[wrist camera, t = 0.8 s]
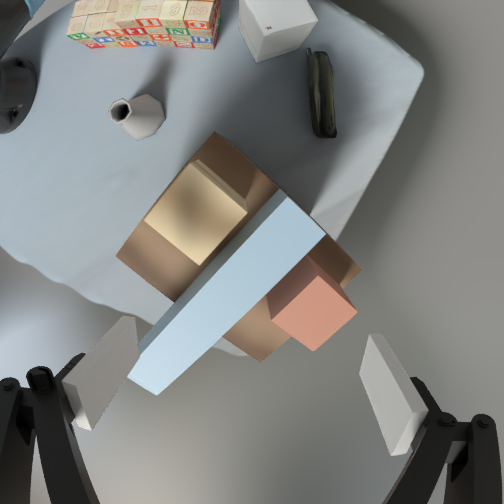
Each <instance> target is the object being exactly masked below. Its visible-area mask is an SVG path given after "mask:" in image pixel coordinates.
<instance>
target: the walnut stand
mask: <svg viewBox="0 0 504 504" xmlns="http://www.w3.org/2000/svg"><path fill="white" fill-rule="evenodd" d="M196 160H200V161H201V162H203V163H204V164H205V165H206V166H207V167H208V168H210V169H211V170H212V171H213V172H214V173H215V174H217V175H218V176H219V177H220V178H221V179H222V180H224V181H225V182H226V183H227V184H228V185H229V186H230V187H232V188H233V189H234V190H235V191H236V192H237V193H239V194H240V195H241V196H242V197H243V198H244V199H245V201H246V207H247V214H246V215H245V216H244V217H243V218H242V219H241V220H240V221H239V223H238V224H237V225H236V226H235V227H234V228H233V229H232V230H231V231H230V232H229V233H228V235H227V236H226V237H225V238H224V239H223V240H222V241H221V242H220V243H219V244H218V246H217V247H216V248H215V249H214V250H213V251H212V252H211V253H210V254H209V256H208V257H207V258H206V259H205V260H204V261H203V262H202V263H201V264H200V266H199V265H198V264H197V263H195V262H194V261H193V260H192V259H190V258H189V257H188V256H187V255H185V254H184V253H183V252H182V251H180V250H179V249H178V248H177V247H176V246H174V245H173V244H172V243H171V242H169V241H168V240H167V239H166V238H164V237H163V236H162V235H161V234H160V233H158V232H157V231H156V230H155V229H154V228H152V227H151V226H150V225H149V224H148V223H146V222H145V221H144V219H145V218H146V217H147V216H148V214H149V213H150V212H151V210H152V209H153V208H154V206H155V205H156V204H157V203H158V201H159V200H160V199H161V198H162V196H163V195H164V194H165V192H166V191H167V190H168V189H169V188H170V186H171V185H172V184H173V183H174V181H175V180H176V179H177V178H178V177H179V175H180V174H181V173H182V172H183V171H184V169H185V168H186V167H187V166H188V165H189V163H191V162H194V161H196ZM279 188H280V187H279V186H278V185H277V184H276V183H275V182H274V181H273V180H272V179H271V178H270V177H268V176H267V175H266V174H265V173H264V172H263V171H262V170H261V169H260V168H258V167H257V166H256V165H255V164H254V163H253V162H252V161H251V160H250V159H248V158H247V157H246V156H245V155H244V154H243V153H242V152H240V151H239V150H238V149H237V148H236V147H235V146H234V145H232V144H231V143H230V142H229V141H228V140H227V139H225V138H224V137H223V136H221V135H219V134H218V133H216V132H214V133H213V134H212V135H211V136H210V137H209V138H208V140H207V141H206V142H205V143H204V144H203V145H202V146H201V147H200V149H199V150H198V151H197V152H196V153H195V154H194V155H193V157H192V158H191V159H190V160H189V161H188V162H187V164H186V165H185V166H184V167H183V168H182V170H181V171H180V172H179V173H178V174H177V176H176V177H175V178H174V179H173V180H172V182H171V183H170V184H169V185H168V187H167V188H166V189H165V190H164V192H163V193H162V194H161V195H160V197H159V198H158V199H157V200H156V202H155V203H154V204H153V206H152V207H151V208H150V210H149V211H148V212H147V213H146V215H145V216H144V217H143V219H142V220H141V221H140V223H139V224H138V225H137V227H136V228H135V230H134V231H133V232H132V234H131V235H130V236H129V238H128V239H127V241H126V242H125V243H124V245H123V246H122V248H121V249H120V250H119V252H118V253H117V255H116V257H117V258H118V259H120V260H121V261H122V262H123V263H124V264H126V265H127V266H128V267H129V268H131V269H132V270H133V271H134V272H136V273H137V274H138V275H139V276H141V277H142V278H143V279H144V280H146V281H147V282H148V283H149V284H151V285H152V286H153V287H155V288H156V289H157V290H159V291H160V292H161V293H162V294H164V295H165V296H166V297H168V298H169V299H170V300H172V301H173V302H174V303H175V302H176V301H177V299H178V298H179V297H180V296H181V295H182V294H183V293H184V292H185V291H186V289H187V288H188V287H189V286H190V285H191V284H192V283H193V282H194V281H195V279H196V278H197V277H198V276H199V275H200V274H201V273H202V272H203V271H204V269H205V268H206V267H207V266H208V265H209V264H210V263H211V262H212V261H213V260H214V258H215V257H216V256H217V255H218V254H219V253H220V252H221V251H222V250H223V249H224V248H225V246H226V245H227V244H228V243H229V242H230V241H231V240H232V239H233V238H234V237H235V236H236V235H237V233H238V232H239V231H240V230H241V229H242V228H243V227H244V226H245V225H246V224H247V223H248V222H249V220H250V219H251V218H252V217H253V216H254V215H255V214H256V213H257V212H258V211H259V210H260V209H261V208H262V207H263V205H264V204H265V203H266V202H267V201H268V200H269V199H270V198H271V197H272V196H273V195H274V194H275V193H276V192H277V191H278V190H279ZM280 189H281V188H280ZM281 190H282V191H283V192H284V193H285V194H286V195H287V196H288V197H289V198H290V199H291V200H292V201H294V200H293V199H292V198H291V197H290V196H289V195H288V194H287V193H286V192H285V191H284V190H283V189H281ZM294 202H295V201H294ZM295 203H296V202H295ZM296 204H297V203H296ZM297 205H298V204H297ZM298 206H299V207H300V208H301V209H302V210H303V211H304V212H305V213H306V214H307V215H308V216H309V217H310V218H311V219H312V220H313V221H314V222H315V223H316V224H317V225H318V226H319V227H320V228H321V229H322V230H323V231H324V232H325V233H326V234H325V235H324V236H323V237H322V239H321V240H320V241H319V242H318V243H317V244H316V245H315V246H314V247H313V248H312V249H311V250H310V251H309V252H308V253H307V255H308V256H309V257H310V258H311V259H312V260H313V261H315V262H316V263H317V264H318V265H319V266H320V267H321V268H322V269H323V270H324V271H325V272H326V273H327V274H329V275H330V276H331V277H332V278H333V279H334V280H335V281H336V282H337V283H338V284H339V285H340V286H341V288H342V289H343V288H344V287H345V286H346V285H347V284H348V283H349V282H350V281H351V280H352V279H353V278H354V277H355V276H356V275H357V274H358V273H359V272H360V271H361V268H360V267H359V266H358V265H357V264H356V263H355V262H354V261H353V260H352V259H351V258H350V256H349V255H348V254H347V253H346V252H345V251H344V250H343V249H342V248H341V247H340V246H339V245H338V244H337V243H336V242H335V241H334V240H333V239H332V238H331V236H330V235H329V234H328V233H327V232H326V231H325V230H324V229H323V228H322V227H321V226H320V225H319V224H318V223H317V222H316V221H315V220H314V219H313V218H312V217H311V216H310V215H309V214H308V213H307V212H306V211H305V210H304V209H303V208H302V207H301V206H300V205H298ZM222 337H223V338H225V339H226V340H228V341H229V342H231V343H232V344H233V345H235V346H236V347H238V348H239V349H241V350H242V351H244V352H245V353H247V354H249V355H250V356H252V357H253V358H255V359H256V360H258V361H259V362H262V361H263V360H264V359H265V358H266V357H268V356H269V355H270V354H271V353H272V352H273V351H275V350H276V349H277V348H278V347H279V346H280V345H282V344H283V343H284V342H285V341H286V340H287V339H288V338H289V337H291V335H290V334H288V333H287V332H286V331H284V330H283V329H282V328H280V327H279V326H278V325H276V324H275V323H274V322H272V321H271V318H270V313H269V308H268V303H267V298H266V295H264V296H263V297H262V298H261V299H260V300H259V301H258V302H257V303H256V304H255V305H254V306H253V307H252V308H251V309H250V310H249V311H248V312H247V313H246V314H245V315H244V316H243V317H242V318H241V319H240V320H239V321H237V322H236V323H235V324H234V325H233V326H232V327H231V328H230V329H229V330H228V331H227V332H226V333H225V334H224V335H223V336H222Z"/></svg>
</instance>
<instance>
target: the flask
mask: <svg viewBox="0 0 504 504" xmlns="http://www.w3.org/2000/svg"><path fill="white" fill-rule="evenodd" d="M108 112H109V116H110V119H111V120H112V121H114V122H115V123H116V124H120V123H122V126H123V129H124V131H125V132H126V133H127V134H129V135H130V136H132V137H133V138H134V139H136V140H137V141H138V140H141V139H144V138H146V137H149V136H152V135H154V134H155V133H156V132H157V130H158V129H159V128H160V126H161V125H162V123H163V122H164V121H165V116H164V112H163V109H162V105H161V102H159V101H158V100H156V99H155V98H153V97H152V96H150V95H149V94H144V95H141V96H139V97H136V98H134V99H131V100H129V101H126V100H125V99H123V98H122V99H120V100H117V101H115V102H113V104H112V105H111V107H110V108H109V110H108Z"/></svg>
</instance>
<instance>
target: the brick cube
mask: <svg viewBox="0 0 504 504" xmlns="http://www.w3.org/2000/svg"><path fill="white" fill-rule="evenodd" d="M266 298H267V303H268V308H269V313H270V318H271V321H272V322H274V323H275V324H276V325H278V326H279V327H280V328H282V329H283V330H284V331H286V332H287V333H288V334H290V335H291V336H293V337H294V338H295V339H297V340H298V341H299V342H301V343H302V344H304V345H305V346H306V347H308V348H310V350H312V351H314V350H316V349H317V348H318V347H319V346H320V345H322V344H323V343H324V342H325V341H326V340H327V339H328V338H329V337H331V336H332V335H333V334H334V333H335V332H336V331H337V330H339V329H340V328H341V327H342V326H343V325H344V324H345V323H346V322H347V321H348V320H350V319H351V318H352V317H353V316H354V315H355V314H356V313H357V312H358V311H357V310H356V308H355V307H354V305H353V304H352V303H351V301H350V300H349V298H348V296H347V295H346V294H345V292H344V291H343V289H342V288H341V286H340V285H339V284H338V283H337V282H336V281H335V280H334V279H333V278H332V277H331V276H330V275H329V274H327V273H326V272H325V271H324V270H323V269H322V268H321V267H320V266H319V265H318V264H317V263H316V262H315V261H313V260H312V259H311V258H310V257H309V256H308V255H307V254H306V255H305V256H304V257H303V258H302V259H301V260H300V261H299V262H298V263H297V264H296V265H295V266H294V267H293V268H292V269H291V270H290V271H289V272H288V273H287V274H286V275H285V276H284V277H283V278H282V279H281V280H280V281H279V282H278V283H277V284H276V285H275V286H274V287H273V288H272V289H271V290H270V291H269V292H268V293H267V294H266Z"/></svg>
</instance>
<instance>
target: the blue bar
mask: <svg viewBox="0 0 504 504" xmlns="http://www.w3.org/2000/svg"><path fill="white" fill-rule="evenodd" d="M325 234H326V233H325V232H324V231H323V230H322V229H321V228H320V227H319V226H318V225H317V224H316V223H315V222H314V221H313V220H312V219H311V218H310V217H309V216H308V215H307V214H306V213H305V212H304V211H303V210H302V209H301V208H300V207H299V206H298V205H297V204H296V203H295V202H294V201H292V200H291V199H290V198H289V197H288V196H287V195H286V194H285V193H284V192H283V191H282V190H281V189H280V188H279V190H278V191H277V192H276V193H275V194H274V195H273V196H272V197H271V198H270V199H269V200H268V201H267V202H266V203H265V204H264V205H263V207H262V208H261V209H260V210H259V211H258V212H257V213H256V214H255V215H254V216H253V217H252V218H251V219H250V220H249V222H248V223H247V224H246V225H245V226H244V227H243V228H242V229H241V230H240V231H239V232H238V233H237V235H236V236H235V237H234V238H233V239H232V240H231V241H230V242H229V243H228V244H227V245H226V246H225V248H224V249H223V250H222V251H221V252H220V253H219V254H218V255H217V256H216V257H215V258H214V260H213V261H212V262H211V263H210V264H209V265H208V266H207V267H206V268H205V269H204V271H203V272H202V273H201V274H200V275H199V276H198V277H197V278H196V279H195V281H194V282H193V283H192V284H191V285H190V286H189V287H188V288H187V289H186V291H185V292H184V293H183V294H182V295H181V296H180V297H179V298H178V299H177V301H176V302H175V303H174V304H173V305H172V306H171V307H170V308H169V310H168V311H167V312H166V313H165V314H164V315H163V316H162V317H161V319H160V320H159V321H158V322H157V323H156V324H155V325H154V327H153V328H152V329H151V330H150V331H149V332H148V333H147V334H146V336H145V337H144V338H143V339H142V340H141V341H140V343H139V344H138V348H139V355H140V358H139V360H138V361H137V363H136V364H135V366H134V367H133V369H132V370H131V372H130V373H129V375H128V376H127V377H128V378H129V379H131V380H133V381H134V382H136V383H137V384H139V385H141V386H142V387H144V388H145V389H147V390H149V391H150V392H152V393H154V394H155V395H158V394H159V393H160V392H161V391H162V390H164V389H165V388H166V387H167V386H168V385H169V384H170V383H171V382H173V381H174V380H175V379H176V378H177V377H178V376H179V375H180V374H181V373H183V372H184V371H185V370H186V369H187V368H188V367H189V366H190V365H191V364H192V363H193V362H195V361H196V360H197V359H198V358H199V357H200V356H201V355H202V354H203V353H204V352H206V351H207V350H208V349H209V348H210V347H211V346H212V345H213V344H214V343H215V342H216V341H217V340H218V339H219V338H221V337H222V336H223V335H224V334H225V333H226V332H227V331H228V330H229V329H230V328H231V327H232V326H233V325H234V324H235V323H236V322H237V321H239V320H240V319H241V318H242V317H243V316H244V315H245V314H246V313H247V312H248V311H249V310H250V309H251V308H252V307H253V306H254V305H255V304H256V303H257V302H258V301H259V300H260V299H261V298H262V297H263V296H264V295H266V294H267V293H268V292H269V291H270V290H271V289H272V288H273V287H274V286H275V285H276V284H277V283H278V282H279V281H280V280H281V279H282V278H283V277H284V276H285V275H286V274H287V273H288V272H289V271H290V270H291V269H292V268H293V267H294V266H295V265H296V264H297V263H298V262H299V261H300V260H301V259H302V258H303V257H304V256H305V255H306V254H307V253H308V252H309V251H310V250H311V249H312V248H313V247H314V246H315V245H316V244H317V243H318V242H319V241H320V240H321V239H322V237H323V236H324V235H325Z"/></svg>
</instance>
